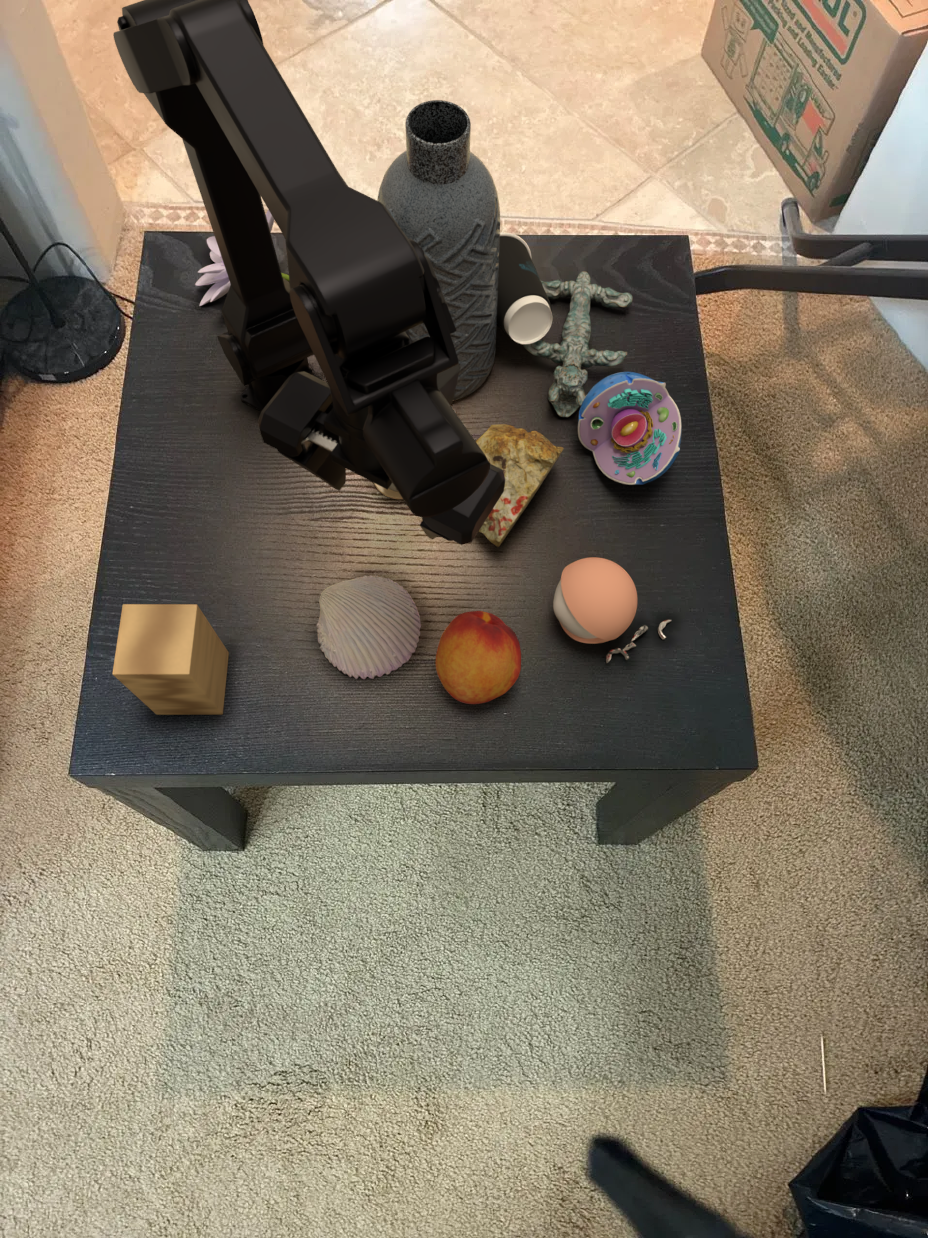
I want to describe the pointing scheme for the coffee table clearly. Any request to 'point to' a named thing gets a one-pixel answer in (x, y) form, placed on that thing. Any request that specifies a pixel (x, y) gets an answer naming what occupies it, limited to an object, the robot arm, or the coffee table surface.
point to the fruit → (478, 657)
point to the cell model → (630, 427)
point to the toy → (636, 635)
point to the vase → (451, 228)
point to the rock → (515, 473)
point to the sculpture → (577, 340)
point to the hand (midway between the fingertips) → (387, 509)
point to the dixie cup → (520, 293)
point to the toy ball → (595, 600)
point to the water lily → (221, 270)
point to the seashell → (367, 626)
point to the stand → (171, 659)
